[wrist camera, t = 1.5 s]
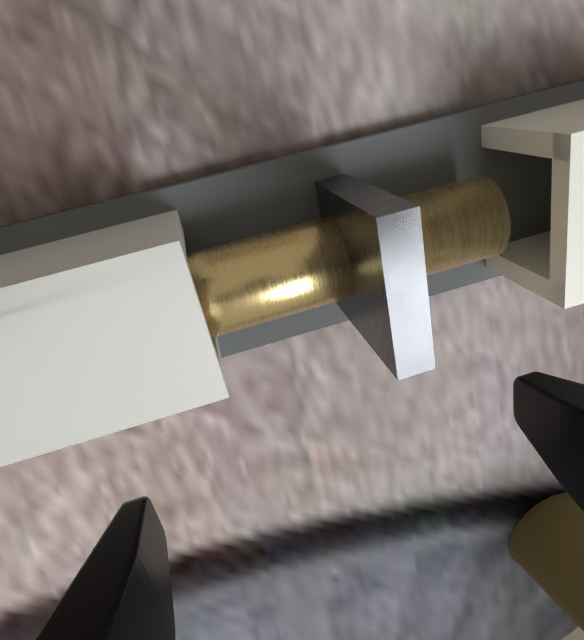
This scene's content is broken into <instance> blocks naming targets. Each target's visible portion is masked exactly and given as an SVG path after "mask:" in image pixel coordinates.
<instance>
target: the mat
mask: <svg viewBox="0 0 584 640" xmlns="http://www.w3.org/2000/svg"><path fill="white" fill-rule="evenodd" d="M582 99H584V80H582V81H578V82H574V83H570V84H566V85H562V86H558V87H554V88H550V89H546V90H542V91H538V92H534V93H530V94H526V95H522V96H518V97H514V98H510V99H506V100H502V101H498V102H495V103H491V104H487V105H483V106H479V107H475V108H471V109H467V110H463V111H459V112H455V113H451V114H447V115H443V116H439V117H435V118H431V119H427V120H423V121H419V122H415V123H411V124H407V125H403V126H399V127H395V128H392V129H388V130H384V131H380V132H376V133H372V134H368V135H364V136H360V137H356V138H352V139H348V140H344V141H340V142H336V143H332V144H328V145H324V146H320V147H316V148H312V149H308V150H304V151H300V152H296V153H292V154H289V155H285V156H281V157H277V158H273V159H269V160H265V161H261V162H257V163H253V164H249V165H245V166H241V167H237V168H233V169H229V170H225V171H221V172H217V173H213V174H209V175H205V176H201V177H197V178H193V179H189V180H186V181H182V182H178V183H174V184H170V185H166V186H162V187H158V188H154V189H150V190H146V191H142V192H138V193H134V194H130V195H126V196H122V197H118V198H114V199H110V200H106V201H102V202H98V203H94V204H90V205H86V206H83V207H79V208H75V209H71V210H67V211H63V212H59V213H55V214H51V215H47V216H43V217H39V218H35V219H31V220H27V221H23V222H19V223H15V224H11V225H7V226H3V227H0V255H3V254H7V253H11V252H15V251H18V250H22V249H26V248H30V247H34V246H38V245H42V244H46V243H49V242H53V241H57V240H61V239H65V238H69V237H73V236H76V235H80V234H84V233H88V232H92V231H96V230H100V229H104V228H107V227H111V226H115V225H119V224H123V223H127V222H131V221H135V220H138V219H142V218H146V217H150V216H154V215H158V214H162V213H165V212H169V211H173V210H177V211H178V215H179V218H180V221H181V224H182V227H183V231H184V239H185V248H186V254H189V253H193V252H197V251H200V250H204V249H208V248H211V247H215V246H219V245H223V244H226V243H230V242H234V241H237V240H241V239H245V238H249V237H252V236H256V235H260V234H264V233H267V232H271V231H275V230H278V229H282V228H286V227H290V226H293V225H297V224H301V223H304V222H308V221H312V220H316V219H319V218H321V216H320V210H319V205H318V200H317V194H316V189H315V183H314V181H318V180H322V179H326V178H330V177H334V176H338V175H341V174H345V173H346V174H348V175H350V176H352V177H355V178H357V179H359V180H362V181H364V182H366V183H368V184H371V185H373V186H375V187H378V188H380V189H382V190H384V191H387V192H389V193H391V194H394V195H396V196H398V197H401V196H405V195H408V194H412V193H416V192H420V191H423V190H427V189H431V188H435V187H438V186H442V185H446V184H449V183H453V182H457V181H461V180H464V179H468V178H472V177H475V176H480V175H483V176H487V177H489V178H491V179H492V180H493V181H494V182H495V183H496V184H497V185H498V187H499V188H500V189H501V191H502V193H503V195H504V197H505V200H506V202H507V205H508V209H509V214H510V221H511V232H510V238H509V242H513V241H516V240H520V239H523V238H527V237H530V236H533V235H537V234H540V233H544V232H547V231H551V187H552V159H551V158H545V157H539V156H533V155H527V154H521V153H515V152H508V151H502V150H496V149H490V148H484V147H482V142H481V125H485V124H488V123H492V122H496V121H500V120H504V119H508V118H512V117H516V116H520V115H523V114H527V113H531V112H535V111H539V110H543V109H547V108H551V107H555V106H558V105H562V104H566V103H570V102H574V101H578V100H582ZM509 242H508V243H509ZM500 275H501V274H499V273H497V272H495V271H493V270H491V269H489V268H488V267H486V259H483V260H479V261H476V262H472V263H469V264H466V265H462V266H459V267H455V268H452V269H448V270H445V271H441V272H438V273H434V274H431V275H428V276H427V286H428V297H429V296H432V295H436V294H439V293H442V292H446V291H449V290H453V289H456V288H459V287H463V286H466V285H470V284H473V283H476V282H480V281H483V280H487V279H490V278H493V277H497V276H500ZM347 320H349V319H348V318H347V316H346V315H345V314H344V313H343V311H342V310H341V309H340V308H339V306H338V305H337V302H334V303H331V304H327V305H324V306H320V307H317V308H313V309H310V310H307V311H303V312H300V313H296V314H293V315H289V316H286V317H282V318H279V319H275V320H272V321H269V322H265V323H262V324H258V325H255V326H251V327H248V328H244V329H241V330H237V331H234V332H231V333H227V334H224V335H220V336H217V339H218V344H219V349H220V354H221V358H222V357H225V356H229V355H232V354H235V353H239V352H242V351H246V350H249V349H252V348H256V347H259V346H262V345H266V344H269V343H273V342H276V341H279V340H283V339H286V338H290V337H293V336H296V335H300V334H303V333H307V332H310V331H313V330H317V329H320V328H324V327H327V326H330V325H334V324H337V323H341V322H344V321H347Z"/></svg>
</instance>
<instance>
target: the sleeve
mask: <svg viewBox="0 0 584 640" xmlns="http://www.w3.org/2000/svg"><path fill="white" fill-rule="evenodd" d="M226 398H229V393H228V389H227V384H226V379H225V374H224V369H223V364H222V359H221V354H220V349H219V344H218V339H217V337H213V338H211V335H210V332H209V329H208V325H207V322H206V319H205V316H204V313H203V310H202V307H201V303H200V300H199V297H198V294H197V291H196V288H195V285H194V281H193V278H192V275H191V272H190V269H189V266H188V263H187V257H186V248H185V239H184V231H183V227H182V224H181V221H180V218H179V215H178V211H177V210H173V211H169V212H165V213H162V214H158V215H154V216H150V217H146V218H142V219H138V220H135V221H131V222H127V223H123V224H119V225H115V226H111V227H107V228H104V229H100V230H96V231H92V232H88V233H84V234H80V235H76V236H73V237H69V238H65V239H61V240H57V241H53V242H49V243H46V244H42V245H38V246H34V247H30V248H26V249H22V250H18V251H15V252H11V253H7V254H3V255H0V467H2V466H6V465H9V464H12V463H15V462H19V461H22V460H25V459H29V458H32V457H35V456H38V455H42V454H45V453H48V452H52V451H55V450H58V449H61V448H65V447H68V446H71V445H75V444H78V443H81V442H84V441H88V440H91V439H94V438H98V437H101V436H104V435H107V434H111V433H114V432H117V431H121V430H124V429H127V428H131V427H134V426H137V425H140V424H144V423H147V422H150V421H154V420H157V419H160V418H163V417H167V416H170V415H173V414H177V413H180V412H183V411H186V410H190V409H193V408H196V407H200V406H203V405H206V404H209V403H213V402H216V401H219V400H223V399H226Z"/></svg>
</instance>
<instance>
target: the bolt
mask: <svg viewBox="0 0 584 640" xmlns="http://www.w3.org/2000/svg"><path fill="white" fill-rule="evenodd" d="M314 183H315V189H316V194H317V200H318V205H319V210H320V216H321V218H319V219H316V220H312V221H308V222H304V223H301V224H297V225H293V226H290V227H286V228H282V229H278V230H275V231H271V232H267V233H264V234H260V235H256V236H252V237H249V238H245V239H241V240H237V241H234V242H230V243H226V244H223V245H219V246H215V247H211V248H208V249H204V250H200V251H197V252H193V253H189V254H186V257H187V263H188V266H189V269H190V272H191V275H192V278H193V281H194V285H195V288H196V291H197V294H198V297H199V300H200V303H201V307H202V310H203V313H204V316H205V319H206V322H207V325H208V329H209V332H210V335H211V338H213V337H217V336H220V335H224V334H227V333H231V332H234V331H237V330H241V329H244V328H248V327H251V326H255V325H258V324H262V323H265V322H269V321H272V320H275V319H279V318H282V317H286V316H289V315H293V314H296V313H300V312H303V311H307V310H310V309H313V308H317V307H320V306H324V305H327V304H331V303H334V302H337V305H338V306H339V308H340V309H341V310H342V311H343V313H344V314H345V315H346V316H347V318H348V319H349V320H350V321H351V323H352V324H353V325H354V326H355V327H356V329H357V330H358V331H359V332H360V334H361V335H362V336H363V337H364V339H365V340H366V341H367V342H368V344H369V345H370V346H371V347H372V349H373V350H374V351H375V352H376V354H377V355H378V356H379V357H380V358H381V360H382V361H383V362H384V363H385V365H386V366H387V367H388V368H389V370H390V371H391V372H392V373H393V375H394V376H395V377H396V378H397V380H400V379H403V378H407V377H410V376H413V375H416V374H420V373H423V372H426V371H429V370H432V369H435V360H434V349H433V339H432V328H431V318H430V307H429V297H428V286H427V276H428V275H431V274H434V273H438V272H441V271H445V270H448V269H452V268H455V267H459V266H462V265H466V264H469V263H472V262H476V261H479V260H483V259H486V258H490V257H493V256H497V255H499V254H501V253H502V252H503V251H504V250H505V249H506V247H507V245H508V242H509V238H510V232H511V221H510V214H509V209H508V205H507V202H506V200H505V197H504V195H503V193H502V191H501V189H500V188H499V187H498V185H497V184H496V183H495V182H494V181H493V180H492V179H491V178H489V177H487V176H483V175H480V176H475V177H472V178H468V179H464V180H461V181H457V182H453V183H449V184H446V185H442V186H438V187H435V188H431V189H427V190H423V191H420V192H416V193H412V194H408V195H405V196H401V197H398V196H396V195H394V194H391V193H389V192H387V191H384V190H382V189H380V188H378V187H375V186H373V185H371V184H368V183H366V182H364V181H362V180H359V179H357V178H355V177H352V176H350V175H348V174H346V173H345V174H341V175H338V176H334V177H330V178H326V179H322V180H318V181H314Z"/></svg>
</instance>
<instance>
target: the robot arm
mask: <svg viewBox="0 0 584 640" xmlns="http://www.w3.org/2000/svg"><path fill="white" fill-rule="evenodd" d="M513 406H514V417H515V420H516V422H517V424H518V426H519V427H520V429H521V430H522V431H523V433H524V434H525V436H526V437H527V438H528V440H529V441H530V442H531V444H532V445H533V447H534V448H535V449H536V451H537V452H538V454H539V455H540V456H541V458H542V459H543V461H544V462H545V463H546V465H547V466H548V468H549V469H550V470H551V472H552V473H553V475H554V476H555V477H556V479H557V480H558V482H559V483H560V484H561V485H562V487H563V488H564V489H565V491H566V492H567V493H568V494H569V496H570V497H571V498H572V499H573V500H574V501H575V503H576V504H577V505H578V506H579V507H580V508H581V509H582V511H583V512H584V384H581V383H577V382H574V381H570V380H566V379H562V378H559V377H555V376H551V375H548V374H544V373H540V372H532V373H528V374H525V375H522V376H519V377H517V378H516V379H515V380H514V383H513ZM35 640H175V620H174V609H173V600H172V590H171V580H170V571H169V561H168V552H167V542H166V536H165V532H164V529H163V527H162V524H161V522H160V520H159V518H158V516H157V513H156V511H155V509H154V507H153V505H152V502H151V500H150V499H149V498H148V497H146V496H143V497H139V498H136V499H133V500H130V501H127V502H125V503H124V504H123V505H122V506H121V507H120V509H119V510H118V512H117V513H116V515H115V516H114V518H113V519H112V521H111V523H110V524H109V526H108V527H107V529H106V530H105V532H104V533H103V535H102V536H101V538H100V540H99V541H98V543H97V544H96V546H95V547H94V549H93V550H92V552H91V554H90V555H89V557H88V558H87V560H86V561H85V563H84V564H83V566H82V568H81V569H80V571H79V572H78V574H77V575H76V577H75V578H74V580H73V582H72V583H71V585H70V586H69V588H68V589H67V591H66V592H65V594H64V595H63V597H62V599H61V600H60V602H59V603H58V605H57V606H56V608H55V609H54V611H53V613H52V614H51V616H50V617H49V619H48V620H47V622H46V623H45V625H44V627H43V628H42V630H41V631H40V633H39V634H38V636H37V637H36V639H35Z"/></svg>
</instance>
